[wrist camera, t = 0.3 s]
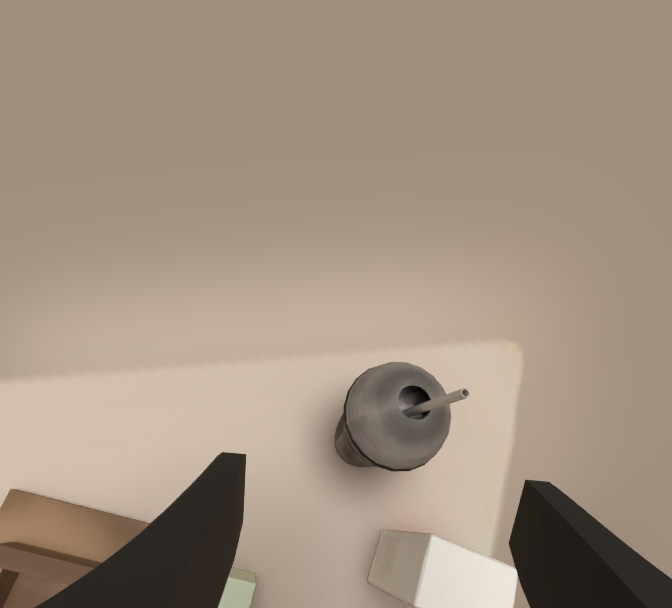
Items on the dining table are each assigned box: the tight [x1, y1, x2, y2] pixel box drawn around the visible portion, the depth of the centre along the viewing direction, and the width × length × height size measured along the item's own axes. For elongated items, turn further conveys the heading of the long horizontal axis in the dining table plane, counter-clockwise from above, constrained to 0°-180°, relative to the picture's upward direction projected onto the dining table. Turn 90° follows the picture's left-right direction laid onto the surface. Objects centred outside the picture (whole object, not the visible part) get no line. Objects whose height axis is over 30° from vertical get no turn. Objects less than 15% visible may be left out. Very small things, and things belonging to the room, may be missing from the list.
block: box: [218, 568, 256, 608], centre depth 31 cm, size 4×4×6 cm
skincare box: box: [368, 530, 518, 608], centre depth 32 cm, size 6×4×12 cm
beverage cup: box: [335, 362, 470, 471], centre depth 32 cm, size 7×7×20 cm
